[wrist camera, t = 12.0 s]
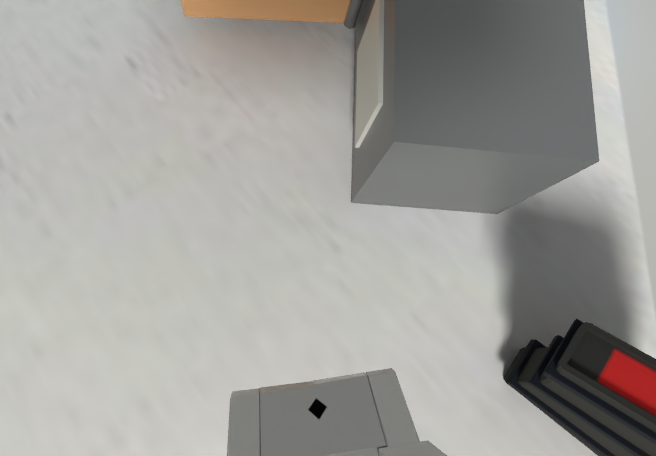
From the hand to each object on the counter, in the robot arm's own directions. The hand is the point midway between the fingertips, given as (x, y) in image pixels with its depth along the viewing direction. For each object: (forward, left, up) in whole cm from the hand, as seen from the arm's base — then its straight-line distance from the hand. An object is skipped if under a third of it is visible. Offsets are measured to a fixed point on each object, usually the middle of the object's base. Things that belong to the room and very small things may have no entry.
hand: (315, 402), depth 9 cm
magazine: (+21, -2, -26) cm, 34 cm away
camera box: (+11, +20, -26) cm, 34 cm away
